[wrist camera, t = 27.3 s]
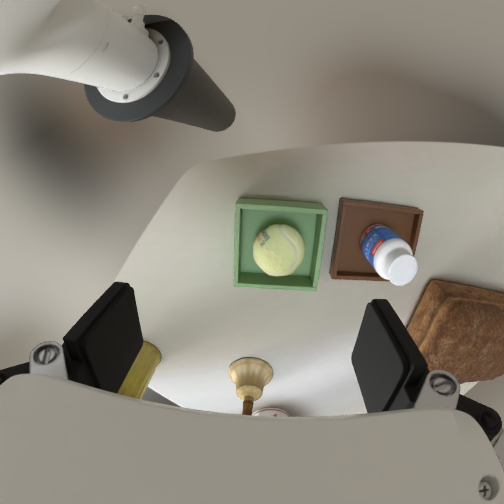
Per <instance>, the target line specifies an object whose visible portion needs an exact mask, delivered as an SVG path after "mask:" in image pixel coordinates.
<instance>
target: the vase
mask: <svg viewBox="0 0 504 504" xmlns="http://www.w3.org/2000/svg"><path fill="white" fill-rule="evenodd" d="M160 361H161V355H160V352H159V351H158V350H157V348H156V347H154V346H153V345H151V344H149V343H147V342H143V346H142V348H141V350H140V352H139V354H138V356H137V357H136V359H135V361H134V363H133V365H132V367H131V368H130V370H129V372H128V374H127V376H126V378H125V380H124V382H123V384H122V385H121V387H120V389H119V391H118V393H117V394H120V395H124V396H128V397H132V398H136V399H141V398H142V396H143V394H144V392H145V390H146V388H147V386H148V384H149V382H150V380H151V378H152V376H153V374H154V372H155V369H156V367H157V365H158V364H159V363H160Z"/></svg>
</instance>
